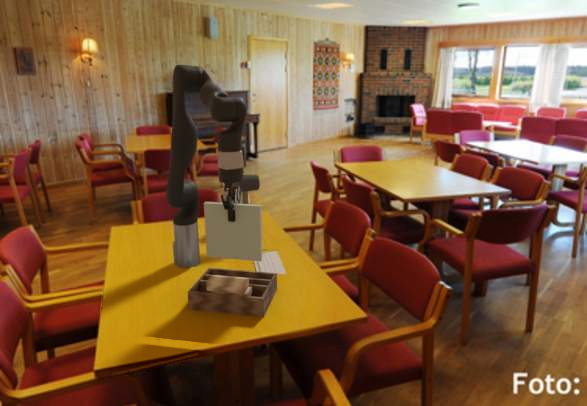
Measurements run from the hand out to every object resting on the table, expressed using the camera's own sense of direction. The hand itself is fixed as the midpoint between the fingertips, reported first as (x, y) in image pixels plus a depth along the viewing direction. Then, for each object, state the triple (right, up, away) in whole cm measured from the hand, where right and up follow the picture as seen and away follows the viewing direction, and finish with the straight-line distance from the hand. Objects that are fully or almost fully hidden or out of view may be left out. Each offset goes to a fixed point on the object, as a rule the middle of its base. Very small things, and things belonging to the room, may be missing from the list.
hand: (232, 220), depth 136 cm
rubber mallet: (-2, -11, +63) cm, 64 cm away
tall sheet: (0, -12, +4) cm, 13 cm away
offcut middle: (0, -24, +1) cm, 24 cm away
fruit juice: (-7, -6, +80) cm, 81 cm away
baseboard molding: (+9, -21, +31) cm, 39 cm away
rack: (0, -27, +6) cm, 28 cm away
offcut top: (-1, -21, 0) cm, 21 cm away
